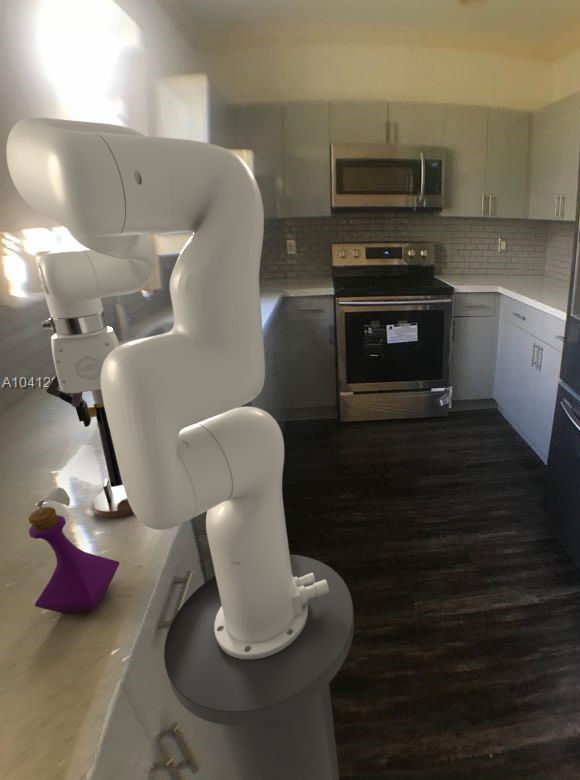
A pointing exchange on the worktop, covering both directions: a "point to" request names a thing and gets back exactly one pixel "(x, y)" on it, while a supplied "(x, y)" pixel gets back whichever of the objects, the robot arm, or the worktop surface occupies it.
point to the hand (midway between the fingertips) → (106, 419)
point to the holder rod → (106, 443)
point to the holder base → (112, 502)
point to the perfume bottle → (69, 563)
